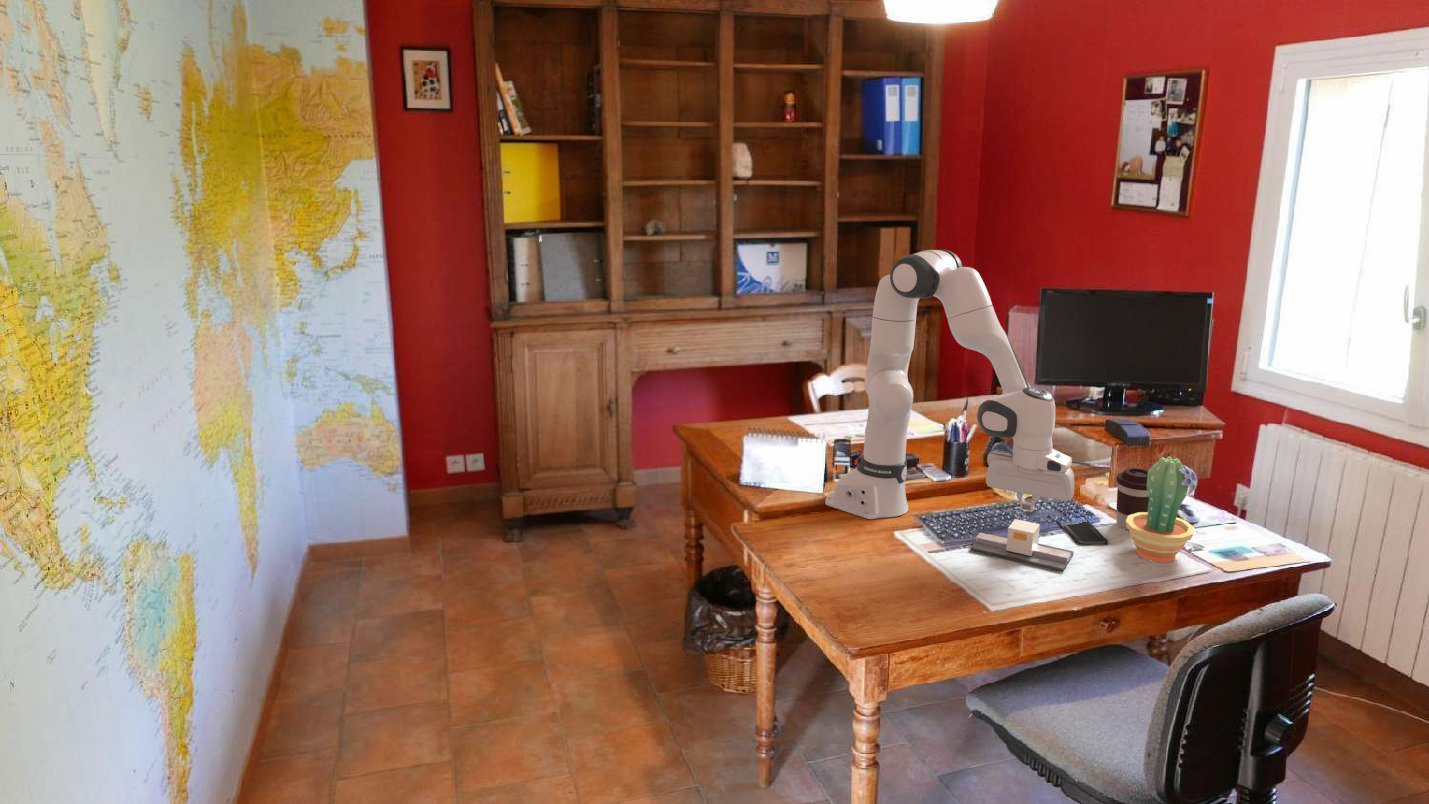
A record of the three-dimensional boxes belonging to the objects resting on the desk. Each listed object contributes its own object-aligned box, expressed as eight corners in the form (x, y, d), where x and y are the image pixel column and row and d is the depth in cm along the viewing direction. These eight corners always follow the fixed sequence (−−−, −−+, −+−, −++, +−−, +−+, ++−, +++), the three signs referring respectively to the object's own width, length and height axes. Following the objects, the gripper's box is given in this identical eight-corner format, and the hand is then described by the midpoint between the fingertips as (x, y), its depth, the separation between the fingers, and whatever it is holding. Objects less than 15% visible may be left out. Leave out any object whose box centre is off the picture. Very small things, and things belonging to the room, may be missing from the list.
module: (1005, 550, 236) (1007, 528, 234) (1013, 541, 241) (1015, 519, 240) (1030, 556, 233) (1033, 533, 231) (1037, 546, 238) (1040, 524, 237)
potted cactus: (1150, 572, 228) (1164, 472, 221) (1108, 544, 242) (1120, 450, 235) (1205, 564, 232) (1221, 466, 225) (1160, 538, 246) (1174, 444, 239)
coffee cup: (1158, 534, 249) (1166, 479, 244) (1119, 533, 249) (1126, 478, 244) (1142, 518, 258) (1150, 465, 254) (1105, 518, 258) (1112, 465, 254)
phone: (1078, 542, 242) (1056, 517, 256) (1078, 546, 242) (1056, 521, 257) (1110, 542, 242) (1086, 517, 256) (1109, 546, 242) (1085, 521, 257)
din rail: (970, 551, 239) (971, 542, 238) (983, 535, 248) (984, 527, 247) (1062, 572, 228) (1063, 564, 227) (1073, 555, 237) (1074, 546, 236)
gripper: (984, 452, 233) (980, 505, 237) (1072, 467, 223) (1067, 523, 227) (992, 444, 238) (987, 497, 242) (1078, 459, 228) (1073, 513, 232)
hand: (1026, 510), depth 234 cm, fingers closed
